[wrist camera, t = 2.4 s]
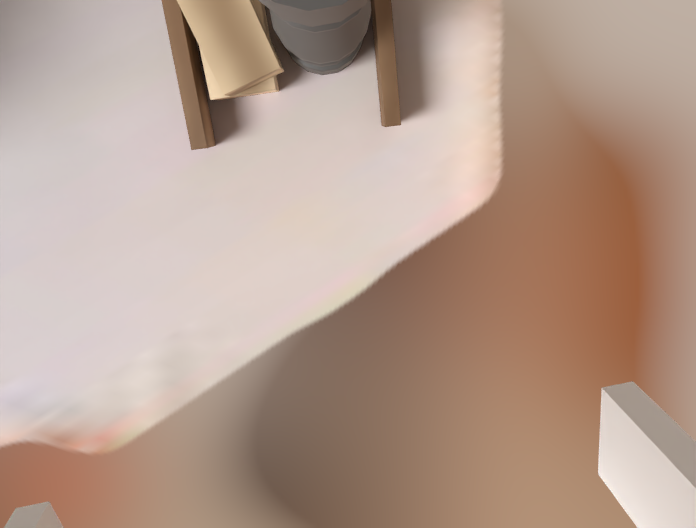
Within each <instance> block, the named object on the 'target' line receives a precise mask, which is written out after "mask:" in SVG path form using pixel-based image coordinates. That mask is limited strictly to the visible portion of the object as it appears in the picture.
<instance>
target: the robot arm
mask: <svg viewBox="0 0 696 528" xmlns="http://www.w3.org/2000/svg"><path fill="white" fill-rule="evenodd" d="M598 474H599V476H600V477H601V479H602V480H603V481H604V483H605V484H606V485H607V487H608V488H609V489H610V491H611V492H612V493H613V495H614V496H615V498H616V499H617V500H618V502H619V503H620V504H621V506H622V507H623V508H624V510H625V511H626V513H627V514H628V515H629V517H630V518H631V519H632V521H633V522H634V523H635V525H636V526H637V528H696V441H695V440H694V439H693V438H692V437H691V436H690V435H689V434H687V432H685V431H684V430H683V429H682V428H681V427H680V426H679V425H678V424H677V423H676V422H675V421H674V420H673V419H672V418H671V417H670V416H669V415H668V414H667V413H666V412H664V411H663V410H662V409H661V408H660V407H659V406H658V405H657V404H656V403H655V402H654V401H653V400H652V399H651V398H650V397H649V396H648V395H647V394H646V393H645V392H643V391H642V390H641V389H640V388H639V387H638V386H637V385H636V384H635V383H634V382H628V383H623V384H618V385H613V386H608V387H603V388H602V395H601V417H600V441H599V465H598ZM4 528H64V527H63V526H62V524H61V522H60V520H59V518H58V517H57V515H56V513H55V511H54V510H53V507H52V506H51V504H50V502H44V503H39V504H34V505H29V506H25V507H20V508H16V509H15V511H14V512H13V514H12V515H11V517H10V519H9V520H8V522H7V524H6V525H5V527H4Z"/></svg>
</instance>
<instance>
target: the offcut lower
mask: <svg viewBox="0 0 696 528" xmlns="http://www.w3.org/2000/svg"><path fill="white" fill-rule="evenodd" d="M252 1H253V3H254V5H255V7H256V10H257V12H258V14H259V16H260V18H261V21H262V23H263V25H264V27H265V29H266V32H267V34H268V36H269V38H270V35H269V29H268V23H267V17H266V12H265V6H264V5H263V4H262V3H261V2H260V1H258V0H252ZM199 48H200V46H199ZM200 53H201V58H202V62H203V67H204V72H205V76H206V81H207V86H208V91H209V95H210V100H224V99H231V98H238V97H244V96H251V95H258V94H264V93H271V92H278V91H279V87H278V81H277V75H276V76H274V77H272V78H269V79H267V80H265V81H263V82H261V83H259V84H257V85H255V86H253V87H251V88H249V89H247V90H245V91H243V92H241V93H238V94H236V95H234V96H226V95H223V93H222V91H221V89H220V87H219V85H218V83H217V81H216V79H215V77H214V75H213V73H212V71H211V69H210V67H209V65H208V63H207V61H206V58H205V56H204V54H203V52H202V50H201V48H200Z"/></svg>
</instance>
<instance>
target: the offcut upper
mask: <svg viewBox="0 0 696 528" xmlns="http://www.w3.org/2000/svg"><path fill="white" fill-rule="evenodd" d="M177 2H178V4H179V6H180V8H181V10H182V12H183V14H184V16H185V18H186V20H187V22H188V24H189V26H190V28H191V30H192V32H193V34H194V36H195V38H196V40H197V42H198V44H199V46H200V48H201V50H202V52H203V54H204V56H205V58H206V61H207V63H208V65H209V67H210V69H211V71H212V73H213V75H214V77H215V79H216V81H217V83H218V85H219V87H220V89H221V91H222V93H223V95H226V96H234V95H236V94H238V93H241V92H243V91H245V90H247V89H249V88H251V87H253V86H255V85H257V84H259V83H261V82H263V81H265V80H267V79H269V78H272V77H274V76H276V75H278V74H280V73H282V72H284V69H283V67H282V65H281V62H280V60H279V58H278V56H277V54H276V51H275V49H274V47H273V45H272V43H271V40H270V38H269V36H268V34H267V32H266V29H265V27H264V25H263V23H262V21H261V18H260V16H259V14H258V12H257V10H256V7H255V5H254V3H253V1H252V0H177Z"/></svg>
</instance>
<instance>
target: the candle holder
mask: <svg viewBox="0 0 696 528" xmlns="http://www.w3.org/2000/svg"><path fill="white" fill-rule="evenodd" d="M258 1H260V2H261V3H262V4H263V5H265V6H266V7H267V8H269V10H270V15H271V20H272V25H273V29H274V30H275V32H276V34H277V35H278V37H279V38H280V40H281V42H282V43H283V45H284V47H285V48H286V49H287V50H288V52H289V54H290V55H291V57H292V58H293V60H294V61H295V62H296V63H297V64H299V65H300V66H301V67H303V68H304V69H305V70H307V71H308V72H312V73H316V74H320V75H326V74H332V73H338V72H339V71H341V70H342V69H344V68H345V67H347V66H348V65H350V64H351V62H352V61H353V59H354V58H355V56H356V55H357V53H358V52H359V50H360V48H361V45H362V41H363V37H364V36H365V34H366V32H367V29H368V24H369V20H370V15H371V3H370V0H258Z"/></svg>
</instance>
